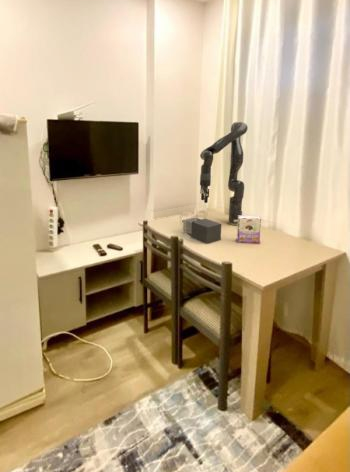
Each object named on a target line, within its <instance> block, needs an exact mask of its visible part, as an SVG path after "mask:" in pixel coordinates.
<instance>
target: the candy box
mask: <svg viewBox="0 0 350 472" xmlns="http://www.w3.org/2000/svg"><path fill="white" fill-rule="evenodd" d="M261 221H262V218H261V217H260V216H259V215H242V216H240V215H238V225H236V226H237V227H236V242H237V243H242V244H243V243H245V244H260V237H261V224H262V223H261Z"/></svg>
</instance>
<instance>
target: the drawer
mask: <svg viewBox="0 0 350 472" xmlns="http://www.w3.org/2000/svg"><path fill="white" fill-rule="evenodd" d="M201 219H202V218H198V217H197V216H192V217H188V218H184V219H182V220H181V222H182V233H187V234H190V235H191V229H192V222H193V221H197V220H201Z"/></svg>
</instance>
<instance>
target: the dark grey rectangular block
mask: <svg viewBox="0 0 350 472" xmlns="http://www.w3.org/2000/svg"><path fill="white" fill-rule="evenodd" d="M200 219H201V220H197V221H193V222H192V229H191V234H190V237H191V238H192V239H194V240H197V241H199V242H201V243H204V244H206V245H207V244H211V243H213V242H216V241H217V242H218V241H220V240H221V239H222V223H220V222H217V221H215V220H212V219H209V218H207V217H205V218H200Z"/></svg>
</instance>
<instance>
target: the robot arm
mask: <svg viewBox="0 0 350 472" xmlns="http://www.w3.org/2000/svg"><path fill="white" fill-rule="evenodd" d="M247 131H248V125H247V123H246V122H243V121H235V122H233V123H232V124H231V127H230V132H229V133H228V134H226V135H224V136H222V137H220V138H219V139H217V140H216V141H215V142H213V144H211V145H210V146H208V147H206V148H205V149H203V150H201V152H200V155H199V157H200V159H201V160H202V161H203V162H202V164H201V166H200V175H199V186H200V190H199V191H200V192H199V194H200V200H201V201H203V203H204V204H206V203H209V202H208V201H209V197H210V188H208V187H211V184H212V183H211V181H212V166H213V162H214V155H215V154H218V153H220V152H221V151H222V150H224V149H225V148H226V147H227V146H228V145H229V144H230V163H229V164H230V165H229V175H228V182H227V188H228V190H229V191H230V192H232V193H233V195H232V196H230V197H229V200H228V201H229V203H228V205H229V206H228V221H227V223H228V224H229V225H231V226H238V215H240V216H243V210H242V208H243V199H244V194H245V183H244V182H243V181H242V180H239V179H238V175H239V171H240V169H241V168H242V166H243V164H244V150H243V146H242V142H241V141H242V140H241V137H242V136H243V135H245V134H247Z"/></svg>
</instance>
